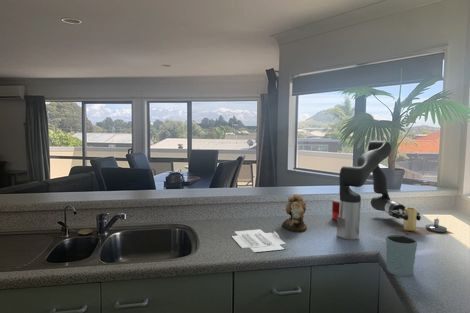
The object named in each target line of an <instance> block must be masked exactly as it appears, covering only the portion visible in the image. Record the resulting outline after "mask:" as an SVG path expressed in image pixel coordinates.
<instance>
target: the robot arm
mask: <svg viewBox="0 0 470 313" xmlns="http://www.w3.org/2000/svg"><path fill="white" fill-rule="evenodd" d="M367 146H368V147H367V151H365V152H363V153H362V154H361V155H360V156H359V157H358V159H357V163H356V164H357V166H351V165H343V166H342V167H341V168H340V171H339V199H340V207H339V216H337V221H336V236H337V237H339V238H341V239H343V240H358V239H359V237H360V222H361V204H362V202H361V200H362V199H361V198H362V196H361V194H359V193H357V192H356V191H354V190H352V189H351V187H353V188H354V187H355V188H360V187H362V186H364V184H365V183H366V182H367V180H368V178H369V176H370V175H371V174H372V183H373V184H372V185H373V192H374V193H375V194H378V195H379V194H380V195H379V196H374V197H372V198H371V199H370V206H371V207H372V208H373V209H374V210H376V211H382V212H385V213H387V214H388V216H390V217H392V218H395V219H400V220H401V219H403V221H404V220H407V219H408V216H407V215H405V214H404V211H405V208H407V207H406V206H405V205H404V204H403V203H400V202H397V201H394V200H391V198H390V195H389V191H388V186H387V185H388V181H387V177H386V174H385V173H384V171H383V169H382V168H381V167H380V163H382V162H383V161H384V160H385V159H387V158H388V157H389V156H390V154H391V151H392V145H391V143H390V142H389V141H388V140H371V141H370V142H369V143H368V145H367ZM421 219H422V218H421V214H420V212H419V211H417V219H416V221H421Z"/></svg>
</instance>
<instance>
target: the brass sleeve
mask: <svg viewBox="0 0 470 313" xmlns="http://www.w3.org/2000/svg"><path fill="white" fill-rule="evenodd" d="M417 212H418V209H417V208H414V207H406V208H405V211H404V214H405V215H407V216H408V219H407V220H404V219H403V228H404V229H405V230H410V231H415V230H416V227H417V220H416V219H417Z"/></svg>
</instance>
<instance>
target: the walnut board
mask: <svg viewBox="0 0 470 313" xmlns="http://www.w3.org/2000/svg"><path fill="white" fill-rule="evenodd" d="M425 227H426V226H416V230H415V231H410V230H405V229H404V228H403V227H394V229H395V230H396V231H399V232H400V233H402V234H405V236H415V235H444V234H445V235H450V234H454V233H453V232H452V231H449V230H447V232H446V233H436V232H431V231H428V230H426V229H425Z"/></svg>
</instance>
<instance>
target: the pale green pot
mask: <svg viewBox="0 0 470 313" xmlns="http://www.w3.org/2000/svg"><path fill="white" fill-rule="evenodd" d="M385 243H386V244H385V245H386V246H385V247H386V253H385V254H386V256H385V257H386V271H387V272H388V273H390V274H392V275H394V276H398V277H411V276H412V275H413V274H414V264H415V260H416V253H417V252H416V250H417V246H418V240H417V239H416V238H413V237H412V236H411V237H410V236H409V235H403V234H402V235H401V234H390V235H386V236H385Z"/></svg>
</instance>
